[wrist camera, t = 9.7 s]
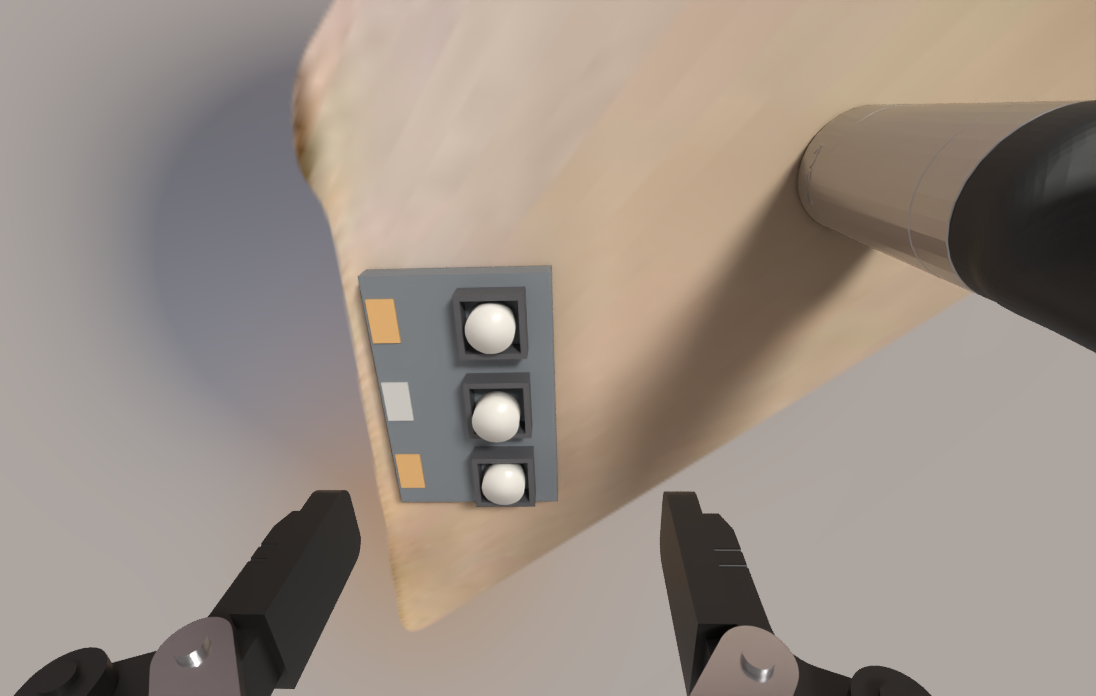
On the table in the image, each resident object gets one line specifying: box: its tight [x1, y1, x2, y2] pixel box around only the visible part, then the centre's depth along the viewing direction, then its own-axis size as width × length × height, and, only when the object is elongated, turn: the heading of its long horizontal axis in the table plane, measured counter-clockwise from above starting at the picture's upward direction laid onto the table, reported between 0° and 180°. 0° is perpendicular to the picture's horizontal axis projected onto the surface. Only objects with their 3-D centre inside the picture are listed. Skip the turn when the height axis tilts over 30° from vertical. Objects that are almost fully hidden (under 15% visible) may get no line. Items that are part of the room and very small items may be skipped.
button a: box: [465, 301, 516, 354], centre depth 42 cm, size 4×4×2 cm
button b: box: [472, 391, 521, 443], centre depth 44 cm, size 4×4×2 cm
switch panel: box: [358, 266, 558, 507], centre depth 47 cm, size 16×24×4 cm, turn 2°
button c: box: [482, 463, 526, 505], centre depth 48 cm, size 4×4×2 cm
